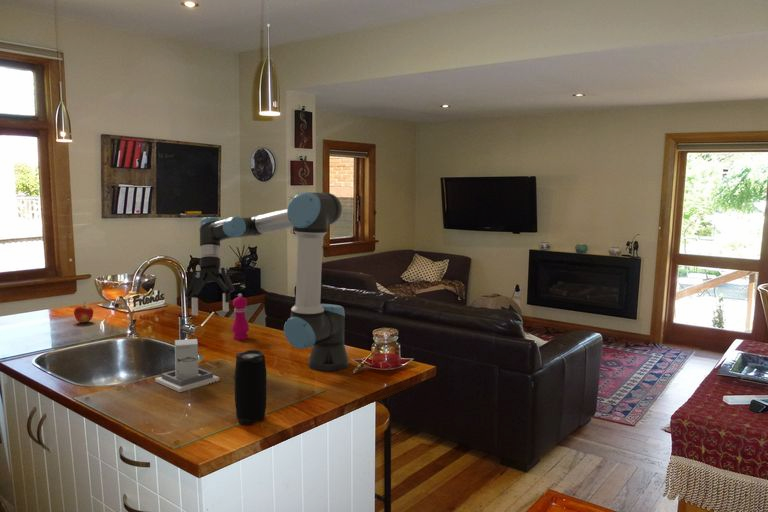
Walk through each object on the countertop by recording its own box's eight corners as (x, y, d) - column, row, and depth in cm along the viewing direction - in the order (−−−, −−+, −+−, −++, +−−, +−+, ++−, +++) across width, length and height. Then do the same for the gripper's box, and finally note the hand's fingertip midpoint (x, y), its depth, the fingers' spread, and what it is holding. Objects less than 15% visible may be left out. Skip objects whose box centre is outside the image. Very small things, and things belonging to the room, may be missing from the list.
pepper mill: (228, 339, 246) (227, 294, 244) (238, 335, 253) (238, 291, 250) (242, 341, 243) (241, 295, 241) (252, 337, 250) (251, 292, 248)
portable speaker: (230, 425, 157) (229, 357, 155) (242, 412, 167) (241, 348, 164) (260, 427, 157) (260, 358, 154) (270, 414, 166) (269, 349, 164)
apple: (82, 320, 275) (81, 300, 274) (97, 321, 274) (96, 300, 273) (70, 324, 267) (69, 303, 266) (86, 325, 266) (85, 304, 265)
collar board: (219, 380, 194) (219, 372, 193) (179, 392, 182) (179, 384, 182) (194, 371, 203) (194, 363, 203) (155, 381, 191) (155, 373, 191)
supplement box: (175, 382, 188) (174, 345, 186) (175, 375, 194) (174, 339, 193) (198, 380, 190) (198, 343, 189) (197, 373, 197) (197, 338, 196)
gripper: (243, 255, 215) (244, 310, 210) (188, 263, 223) (188, 317, 218) (232, 251, 208) (233, 308, 203) (176, 260, 216) (175, 315, 211)
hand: (210, 313), depth 211 cm, fingers open, 13 cm apart
